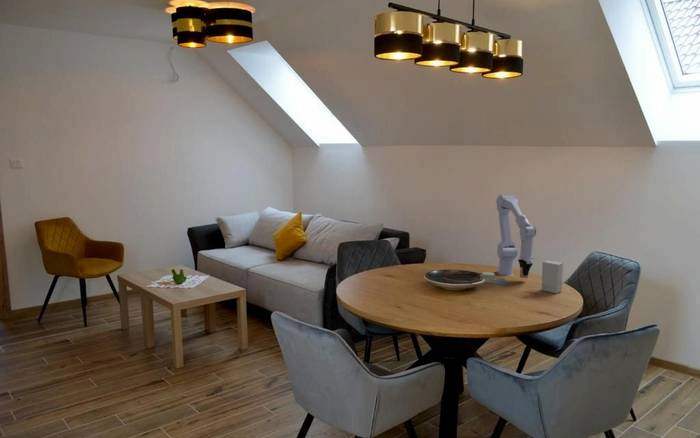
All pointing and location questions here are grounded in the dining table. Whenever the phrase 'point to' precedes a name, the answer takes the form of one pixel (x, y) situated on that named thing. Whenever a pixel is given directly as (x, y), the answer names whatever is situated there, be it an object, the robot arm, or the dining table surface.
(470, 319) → the dining table surface
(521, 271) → the rounded pink dome
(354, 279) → the dining table surface
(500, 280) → the charcoal mat
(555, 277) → the skincare box
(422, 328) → the dining table surface
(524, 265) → the robot arm
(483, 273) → the sage slab
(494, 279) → the birch slab
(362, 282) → the dining table surface
